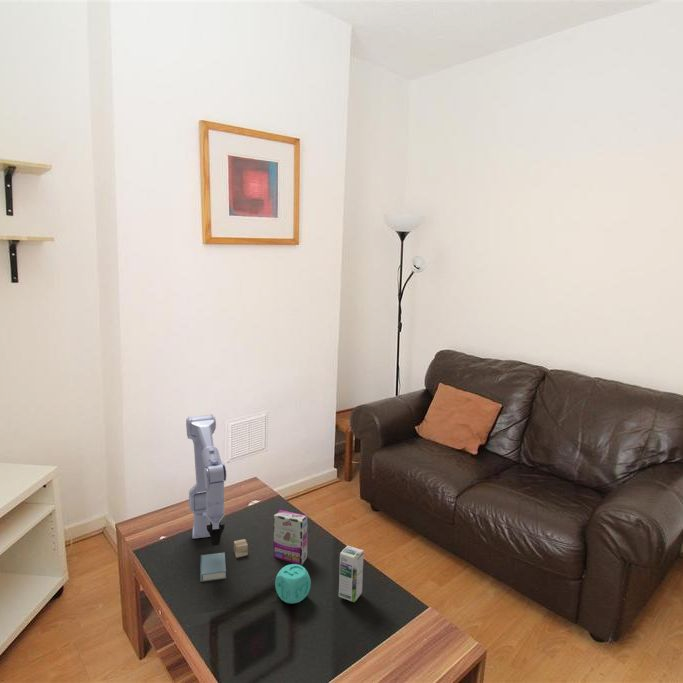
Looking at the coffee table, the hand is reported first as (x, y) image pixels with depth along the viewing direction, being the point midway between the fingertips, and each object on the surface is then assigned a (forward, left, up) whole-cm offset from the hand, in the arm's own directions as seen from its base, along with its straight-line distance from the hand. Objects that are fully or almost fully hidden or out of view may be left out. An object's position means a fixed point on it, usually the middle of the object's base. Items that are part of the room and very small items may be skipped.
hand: (215, 538), depth 162 cm
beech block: (-5, +9, -10) cm, 14 cm away
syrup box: (+24, +40, -11) cm, 48 cm away
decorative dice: (+20, +23, -11) cm, 32 cm away
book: (+1, -1, -11) cm, 11 cm away
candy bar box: (+1, +25, -11) cm, 27 cm away
